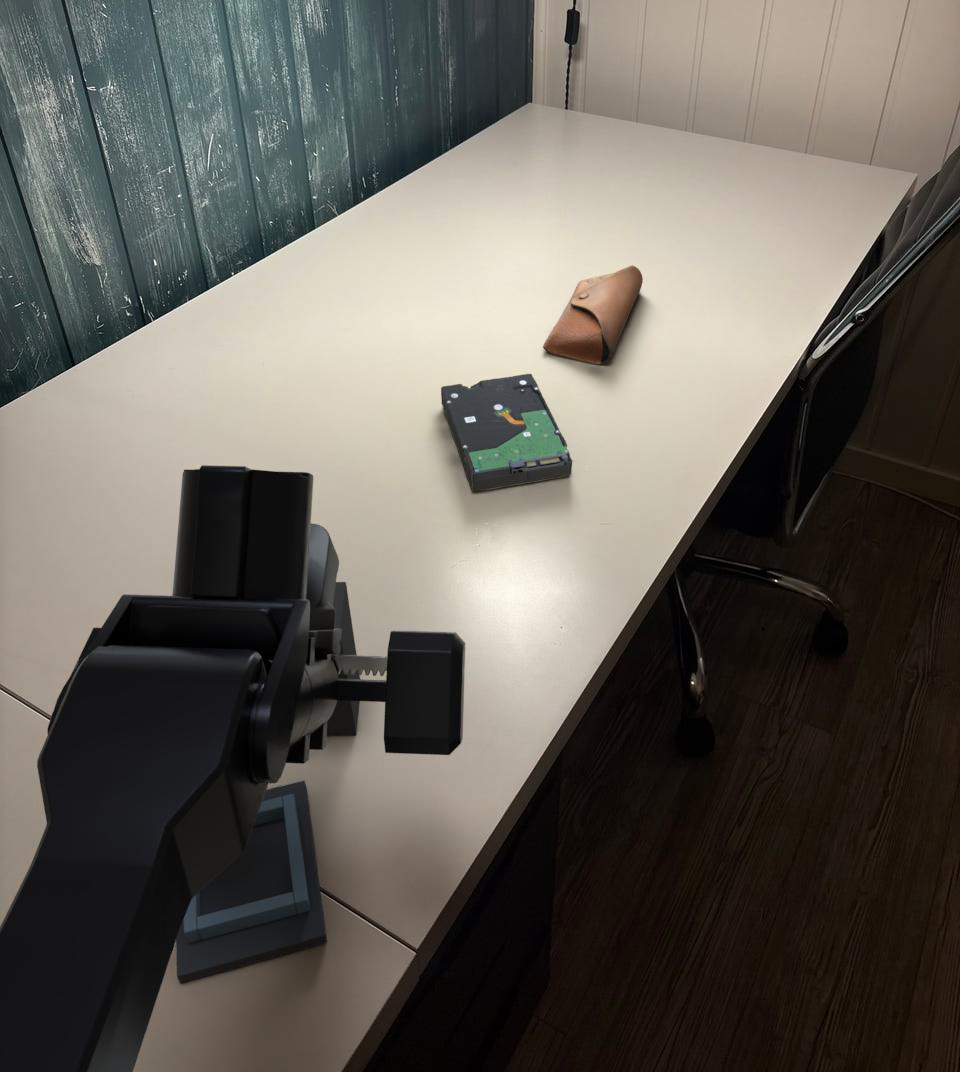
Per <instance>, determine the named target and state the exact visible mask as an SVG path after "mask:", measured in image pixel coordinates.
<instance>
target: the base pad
mask: <svg viewBox="0 0 960 1072" xmlns="http://www.w3.org/2000/svg"><path fill="white" fill-rule="evenodd" d="M309 803H310V802H309V798H308V790H307V784H306V781H305V780H300V781H297V782H293V783H288V784H284V785H280V786H275V787H272V788H267V789H266V792H265V795H264V798H263V801H262V803H261V806H260V809H259V812H258V815H257V817H256V820H255V823H254V826H253V829H252V832H251V834H250V837H249V840H248V842H247V845H246V847H245V849H244V851H243V852H242V853H241V855H240V856H238V857H237V858H236V859H235V860H234V861H233V862H232V863H231V864H230V865H229V866H227V867H226V868H225V869H224V870H223V871H222V872H221V873H220V874H219V875H217V876H216V877H215V878H214V879H213V880H212V881H211V882H210V883H209V884H207V885H206V886H205V887H204V888H203V889H202V890H201V891H200V892H199V893H197V894H196V895H195V896H194V897H193V898H192V899H191V902H190V904H189V907H188V909H187V912H186V914H185V917H184V919H183V922H182V924H181V927H180V930H179V932H178V935H177V938H176V941H175V948H176V949H175V951H176V956H175V957H176V977H177V980H178V982H179V983H181V984H182V983H186V982H190V981H193V980H197V979H201V978H204V977H208V976H211V975H216V974H218V973H222V972H225V971H226V972H227V971H230V970H233V969H236V968H240V967H244V966H247V965H251V964H254V963H258V962H262V961H265V960H270V959H272V958H277V957H281V956H284V955H287V954H290V953H295V952H297V951H301V950H306V949H309V948H313V947H316V946H320V945H323V944H327V943H328V936H327V929H326V922H325V914H324V907H323V901H322V900H323V899H322V892H321V885H320V877H319V870H318V862H317V857H316V856H317V855H316V847H315V842H314V841H315V840H314V833H313V826H312V820H311V812H310V804H309Z"/></svg>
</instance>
